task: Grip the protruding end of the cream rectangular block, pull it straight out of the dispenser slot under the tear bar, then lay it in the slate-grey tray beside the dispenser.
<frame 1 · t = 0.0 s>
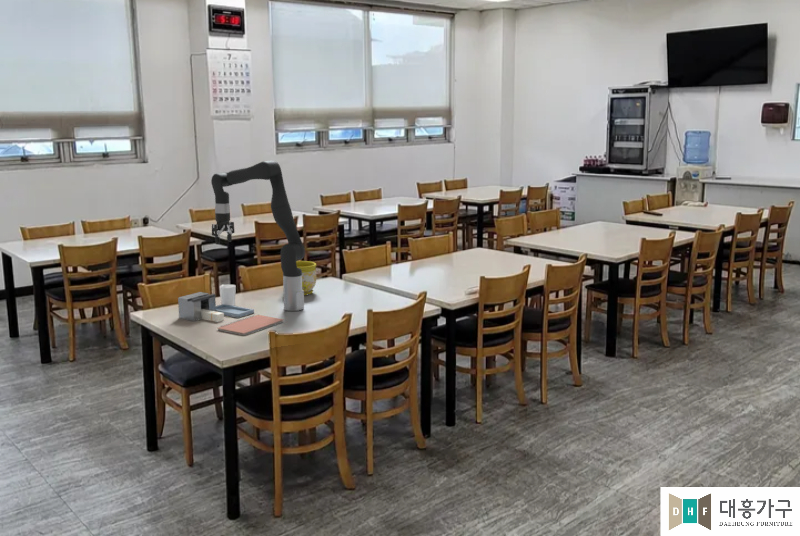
hand: (223, 242, 381), 29 cm above the table, fingers open, 8 cm apart
tray: (230, 312, 356), on the table
dispenser: (197, 316, 348), on the table
white cup: (228, 305, 370), on the table
flowerpot: (300, 293, 398), on the table
cream rectangular block: (210, 319, 345), on the table
notebook: (250, 327, 334), on the table
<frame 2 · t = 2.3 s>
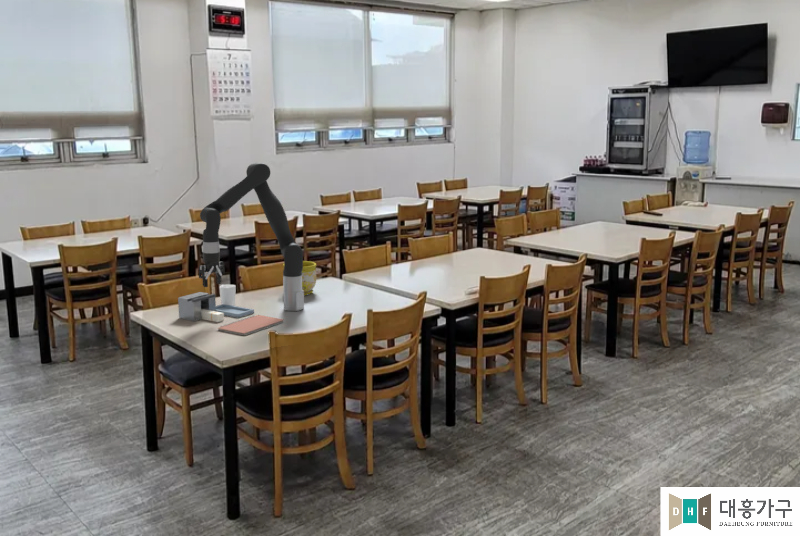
hand: (212, 285, 341), 16 cm above the table, fingers open, 8 cm apart
nothing on the table moved.
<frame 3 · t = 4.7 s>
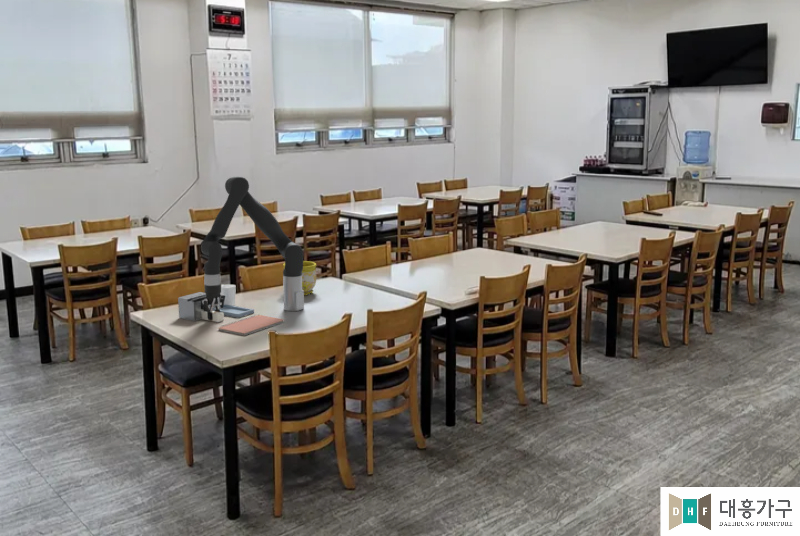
hand: (214, 318, 343), 1 cm above the table, fingers closed on cream rectangular block, 4 cm apart
cream rectangular block: (210, 318, 344), on the table, touching gripper
everything else where it was.
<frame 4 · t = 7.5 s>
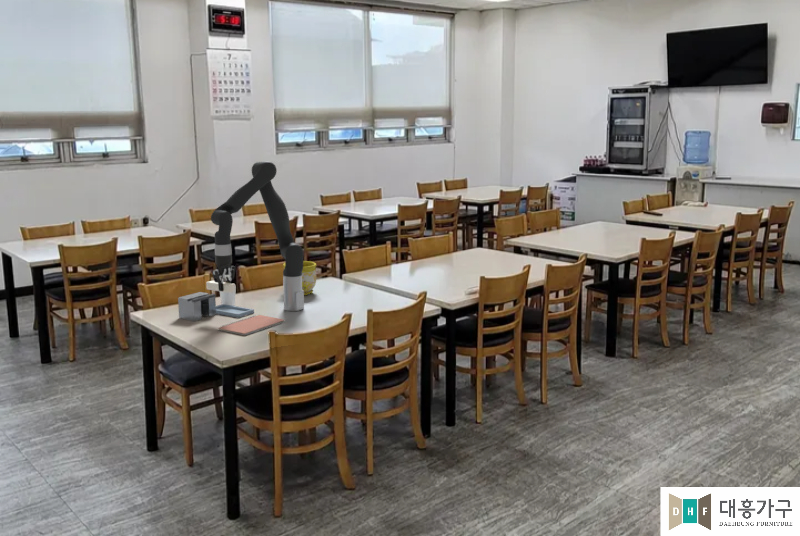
hand: (224, 289, 339), 15 cm above the table, fingers closed on cream rectangular block, 4 cm apart
cream rectangular block: (220, 290, 340), point 14 cm above the table, touching gripper
everything else where it was.
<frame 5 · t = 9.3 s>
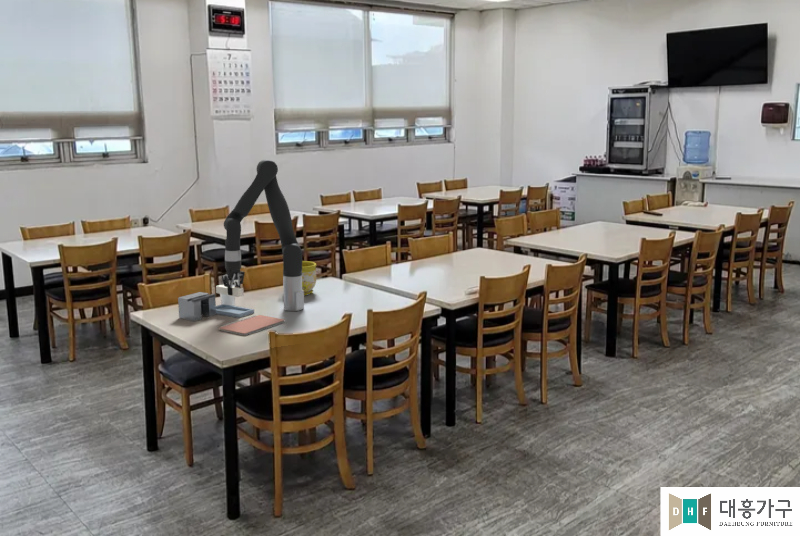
hand: (233, 293, 353), 10 cm above the table, fingers closed on cream rectangular block, 4 cm apart
cream rectangular block: (229, 294, 355), point 9 cm above the table, touching gripper
everything else where it was.
when the fingers open (3 cm above the table, at t = 10.9 s): cream rectangular block drops 1 cm, resting on tray.
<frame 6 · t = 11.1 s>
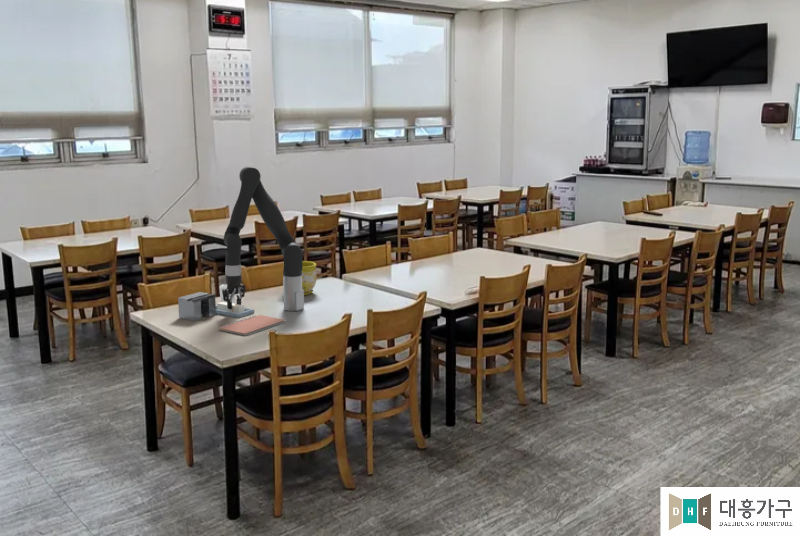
hand: (234, 307, 355), 3 cm above the table, fingers open, 5 cm apart
cream rectangular block: (230, 311, 356), point 1 cm above the table, touching tray
everything else where it was.
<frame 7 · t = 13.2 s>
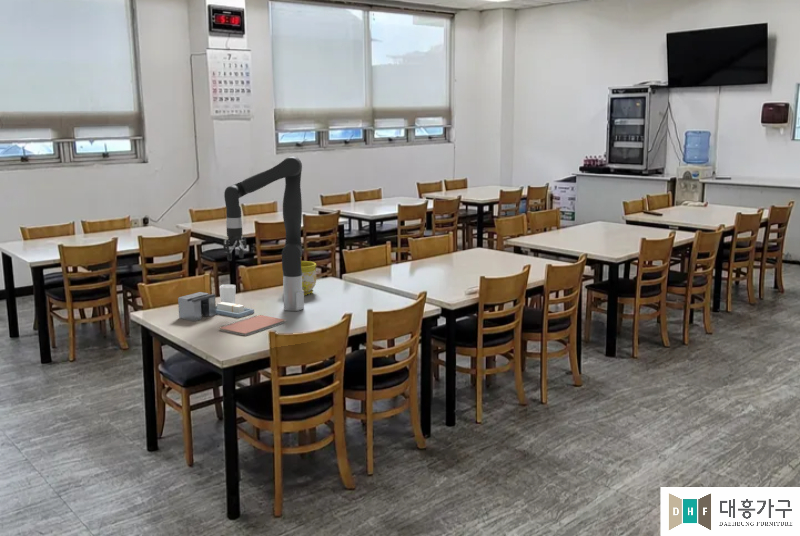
hand: (235, 259, 360), 25 cm above the table, fingers open, 8 cm apart
nothing on the table moved.
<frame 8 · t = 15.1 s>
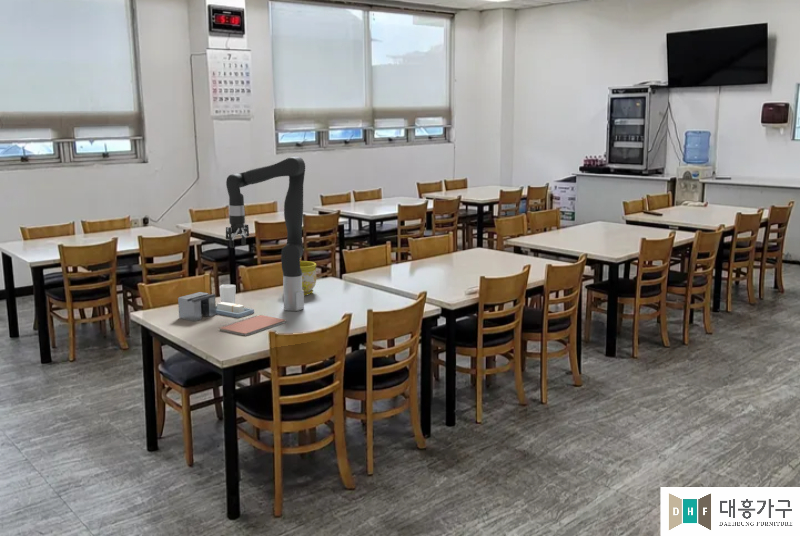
hand: (237, 246, 366), 30 cm above the table, fingers open, 8 cm apart
at the end: cream rectangular block inside the target area on the tray (0.0 cm from its centre), point 0.6 cm above the tray's base; cream rectangular block moved 14.0 cm from its start; the gripper is holding nothing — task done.
